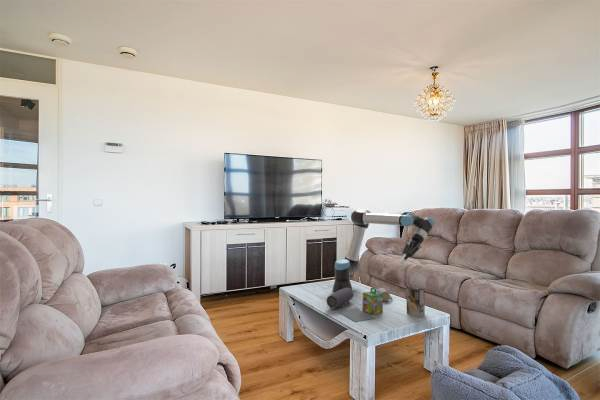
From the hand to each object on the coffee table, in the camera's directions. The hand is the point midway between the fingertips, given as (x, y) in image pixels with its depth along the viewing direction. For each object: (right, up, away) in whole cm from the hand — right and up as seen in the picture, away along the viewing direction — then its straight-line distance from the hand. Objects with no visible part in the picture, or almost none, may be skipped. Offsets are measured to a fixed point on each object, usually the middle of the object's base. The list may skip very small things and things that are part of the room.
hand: (401, 262), depth 215 cm
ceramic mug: (-8, -28, +10) cm, 31 cm away
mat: (-34, -28, -19) cm, 48 cm away
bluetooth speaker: (-41, -29, -1) cm, 50 cm away
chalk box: (-22, -28, -14) cm, 39 cm away
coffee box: (+3, -28, -20) cm, 34 cm away
